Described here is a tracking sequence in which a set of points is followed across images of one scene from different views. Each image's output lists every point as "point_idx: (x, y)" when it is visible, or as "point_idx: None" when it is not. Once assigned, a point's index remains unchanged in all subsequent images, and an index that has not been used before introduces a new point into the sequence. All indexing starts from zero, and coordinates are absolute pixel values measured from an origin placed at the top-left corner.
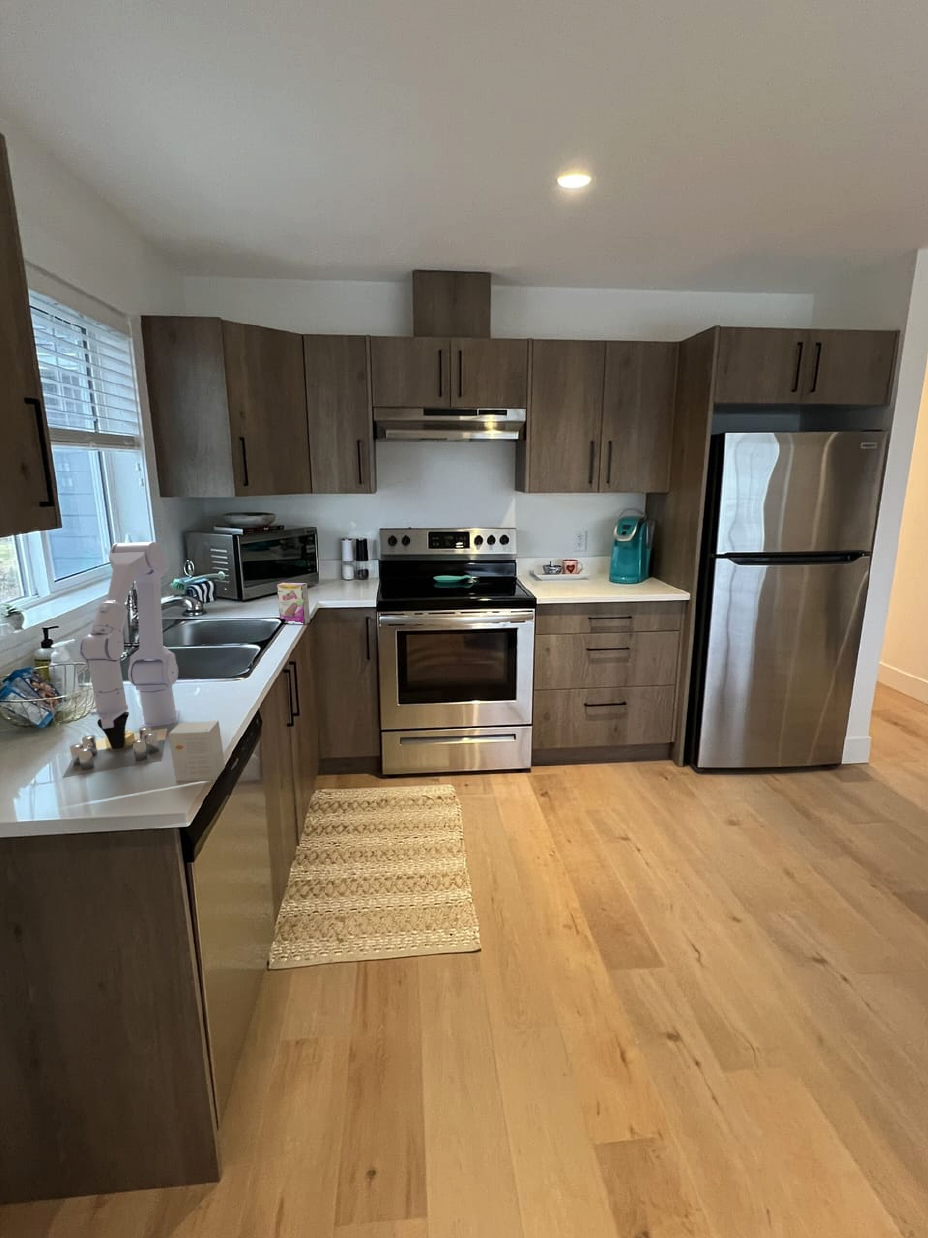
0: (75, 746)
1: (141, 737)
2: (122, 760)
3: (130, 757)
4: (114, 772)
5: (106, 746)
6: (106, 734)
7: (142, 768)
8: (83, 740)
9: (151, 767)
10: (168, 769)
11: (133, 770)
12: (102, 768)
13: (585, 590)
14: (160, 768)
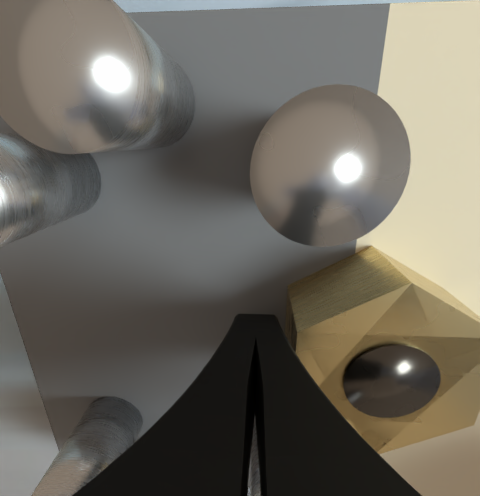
0: (26, 55)
1: (259, 486)
2: (115, 347)
3: (143, 378)
4: (4, 315)
5: (372, 251)
6: (172, 410)
7: (29, 413)
8: (270, 118)
9: (33, 439)
10: (3, 482)
11: (14, 384)
12: (30, 264)
13: None
14: (17, 463)
